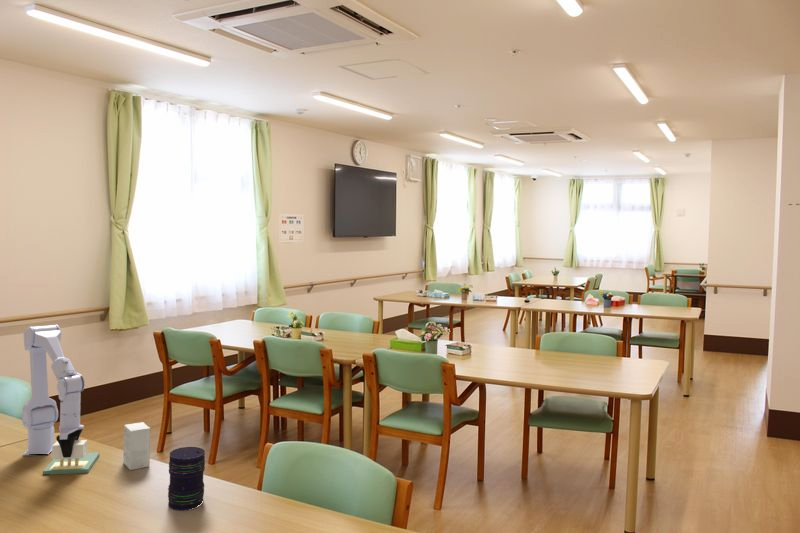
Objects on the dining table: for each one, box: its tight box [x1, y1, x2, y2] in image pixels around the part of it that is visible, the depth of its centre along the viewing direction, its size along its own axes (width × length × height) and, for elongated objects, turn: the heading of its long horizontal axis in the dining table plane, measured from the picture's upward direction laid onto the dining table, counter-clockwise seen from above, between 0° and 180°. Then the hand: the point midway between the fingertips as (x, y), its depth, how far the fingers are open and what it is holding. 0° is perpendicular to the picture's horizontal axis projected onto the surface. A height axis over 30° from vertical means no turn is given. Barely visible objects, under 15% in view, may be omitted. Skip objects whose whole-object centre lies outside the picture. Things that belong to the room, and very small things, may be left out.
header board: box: [42, 452, 100, 475], centre depth 200 cm, size 15×13×4 cm
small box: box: [122, 421, 151, 471], centre depth 203 cm, size 8×6×13 cm
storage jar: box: [167, 446, 206, 512], centre depth 176 cm, size 10×10×15 cm
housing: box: [51, 439, 88, 461], centre depth 197 cm, size 5×9×4 cm, turn 103°
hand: (69, 454), depth 197 cm, fingers closed on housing, 5 cm apart
